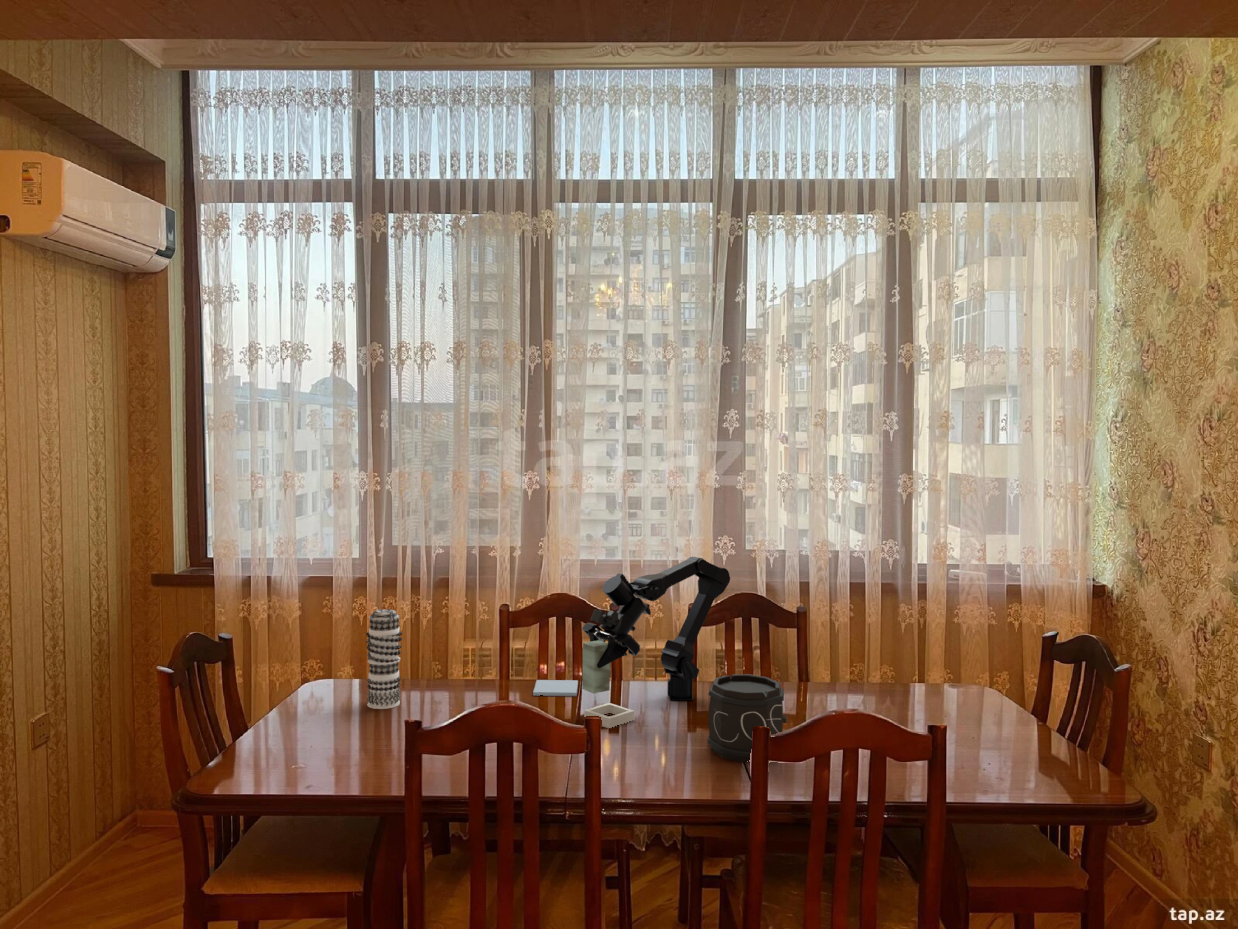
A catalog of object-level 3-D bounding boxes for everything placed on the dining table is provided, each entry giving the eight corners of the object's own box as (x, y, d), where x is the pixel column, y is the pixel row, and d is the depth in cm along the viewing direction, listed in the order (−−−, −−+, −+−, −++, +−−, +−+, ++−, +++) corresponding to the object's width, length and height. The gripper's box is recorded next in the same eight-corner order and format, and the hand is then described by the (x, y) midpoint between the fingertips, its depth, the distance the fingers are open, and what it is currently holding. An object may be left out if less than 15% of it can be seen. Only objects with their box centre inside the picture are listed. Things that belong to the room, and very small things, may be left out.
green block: (597, 685, 227) (598, 640, 226) (609, 690, 223) (610, 644, 222) (582, 688, 224) (582, 642, 223) (593, 693, 220) (594, 646, 219)
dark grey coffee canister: (785, 768, 191) (787, 697, 190) (704, 760, 195) (705, 691, 194) (786, 740, 209) (788, 675, 208) (712, 734, 212) (713, 670, 212)
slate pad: (577, 683, 253) (577, 680, 253) (576, 696, 241) (576, 692, 241) (536, 683, 253) (536, 680, 253) (533, 695, 241) (533, 692, 241)
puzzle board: (609, 712, 227) (609, 702, 227) (634, 720, 221) (634, 710, 221) (584, 720, 221) (584, 710, 221) (609, 728, 215) (609, 718, 215)
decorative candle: (396, 710, 226) (397, 614, 226) (361, 709, 227) (361, 614, 226) (405, 699, 236) (406, 607, 235) (371, 698, 236) (372, 607, 235)
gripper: (588, 592, 232) (553, 638, 226) (631, 603, 217) (595, 653, 211) (611, 618, 237) (577, 664, 231) (655, 631, 222) (620, 680, 216)
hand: (591, 664), depth 222 cm, fingers closed on green block, 5 cm apart
